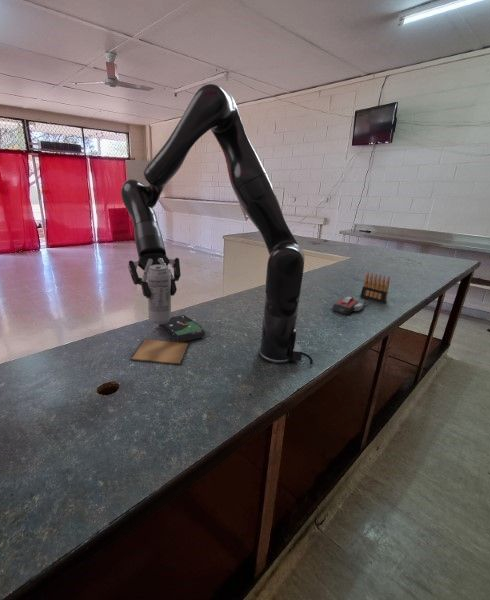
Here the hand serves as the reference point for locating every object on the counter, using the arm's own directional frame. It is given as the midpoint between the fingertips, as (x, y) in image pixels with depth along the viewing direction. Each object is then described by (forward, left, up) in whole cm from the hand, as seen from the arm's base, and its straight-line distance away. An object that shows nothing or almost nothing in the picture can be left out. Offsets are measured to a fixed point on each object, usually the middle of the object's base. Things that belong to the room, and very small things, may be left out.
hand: (161, 295), depth 82 cm
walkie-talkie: (-66, -56, -20) cm, 89 cm away
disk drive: (-1, -20, -20) cm, 28 cm away
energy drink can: (+1, -1, -8) cm, 8 cm away
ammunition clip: (-79, -69, -20) cm, 107 cm away
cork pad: (+2, -6, -20) cm, 21 cm away
